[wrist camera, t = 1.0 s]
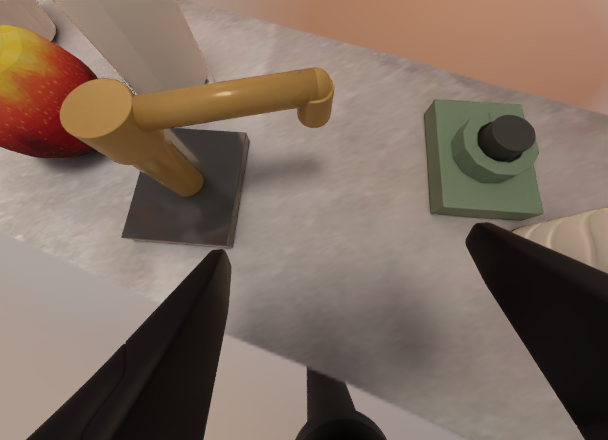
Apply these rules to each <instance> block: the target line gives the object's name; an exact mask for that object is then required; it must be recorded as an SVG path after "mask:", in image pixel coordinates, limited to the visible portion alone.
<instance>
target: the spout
mask: <svg viewBox="0 0 608 440" xmlns="http://www.w3.org/2000/svg"><path fill="white" fill-rule="evenodd" d="M333 95H334V84H333V82H332V80H331V79H330V77H329V75H328V74H327V73H326V71H324V70H323V69H321V68H308V69H302V70H295V71H289V72H282V73H276V74H269V75H263V76H256V77H250V78H243V79H237V80H230V81H224V82H217V83H211V84H204V85H198V86H191V87H185V88H178V89H172V90H165V91H159V92H152V93H146V94H139V95H134V94H133V93H132V92H131V90H130V89H129V88H128V87H127V86H126V85H124V84H123V83H121V82H119V81H117V80H114V79H107V78H102V79H95V80H91V81H88V82H86V83H84V84H82V85H80V86H78V87H77V88H75V89H74V90H73V91H72V92H71V93H70V94H69V95H68V96H67V97H66V99H65V100H64V102H63V104H62V106H61V110H60V121H61V124H62V125H63V127H64V128H65V130H66V131H67V132H68V133H70V134H71V135H73V136H74V137H76V138H78V139H79V140H81V141H83V142H84V143H86V144H87V145H89V146H91V147H92V148H94V149H96V150H97V151H99V152H100V153H102V154H104V155H105V156H107V157H109V158H110V159H112V160H113V161H115V162H117V163H119V164H124V165H135V164H140V163H142V162H145V161H147V160H148V159H150V158H151V157H153V156H154V155H155V154H156V153H157V152H158V151H159V149H160V148H161V146H162V144H163V141H164V129H169V128H175V127H182V126H188V125H194V124H200V123H207V122H213V121H219V120H225V119H231V118H238V117H244V116H250V115H256V114H263V113H269V112H275V111H281V110H287V109H294V108H297V116H298V119H299V120H300V122H301V123H302V124H303V125H305V126H307V127H310V128H318V127H321V126H323V125H325V124H326V123H327V122H328V120H329V118H330V115H331V108H332V101H333Z"/></svg>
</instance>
